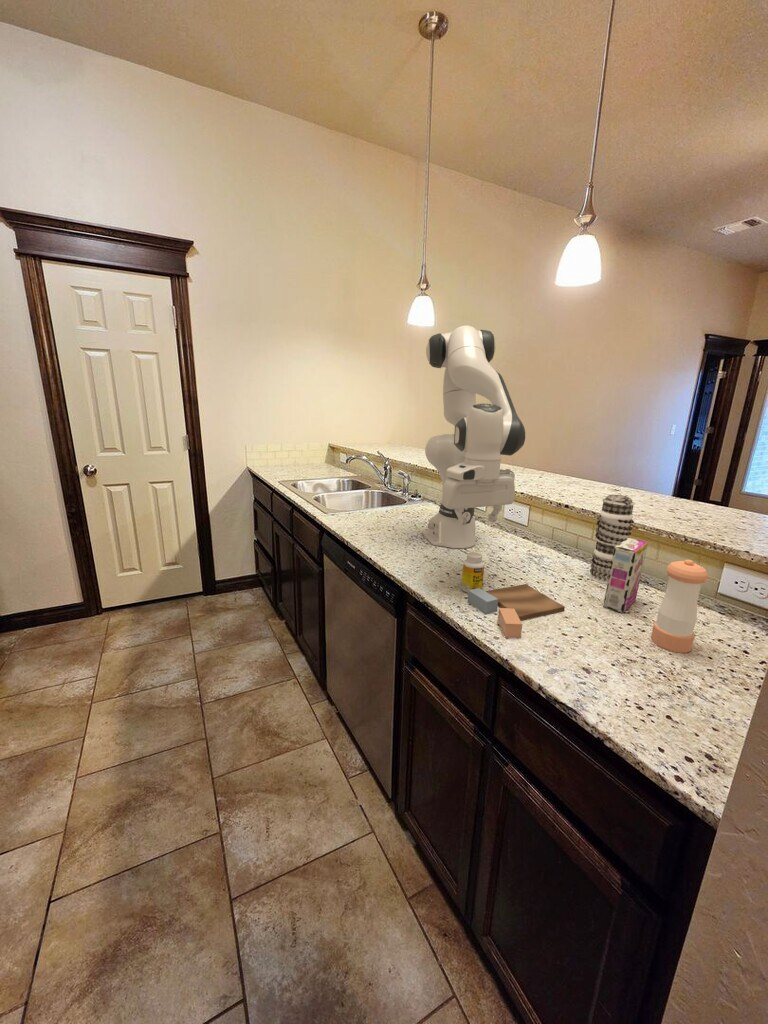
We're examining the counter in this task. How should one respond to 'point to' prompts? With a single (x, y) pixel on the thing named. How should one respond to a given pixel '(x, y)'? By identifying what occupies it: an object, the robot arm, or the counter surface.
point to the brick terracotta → (509, 622)
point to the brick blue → (482, 600)
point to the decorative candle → (610, 534)
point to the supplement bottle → (472, 572)
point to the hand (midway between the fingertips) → (477, 522)
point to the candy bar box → (625, 574)
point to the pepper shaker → (679, 607)
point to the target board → (526, 601)
